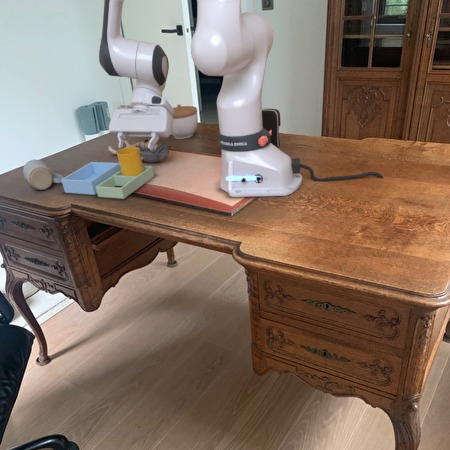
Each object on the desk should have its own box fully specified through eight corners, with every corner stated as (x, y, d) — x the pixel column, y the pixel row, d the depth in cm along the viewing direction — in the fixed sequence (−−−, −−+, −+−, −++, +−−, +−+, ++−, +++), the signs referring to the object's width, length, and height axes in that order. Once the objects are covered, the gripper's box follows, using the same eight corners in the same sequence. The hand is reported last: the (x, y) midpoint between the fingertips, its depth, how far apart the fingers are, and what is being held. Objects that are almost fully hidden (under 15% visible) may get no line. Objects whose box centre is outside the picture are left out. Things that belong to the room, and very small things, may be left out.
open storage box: (123, 175, 136) (119, 162, 134) (94, 194, 126) (90, 181, 123) (94, 174, 140) (91, 161, 138) (65, 192, 130) (60, 179, 127)
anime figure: (127, 134, 157) (175, 134, 136) (133, 155, 161) (181, 158, 140) (103, 142, 153) (150, 143, 131) (110, 163, 156) (156, 167, 135)
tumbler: (149, 177, 133) (143, 147, 128) (138, 185, 128) (131, 154, 123) (131, 176, 135) (124, 146, 130) (119, 184, 131) (111, 154, 125)
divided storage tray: (154, 175, 133) (152, 166, 132) (124, 198, 121) (121, 188, 119) (130, 174, 136) (128, 165, 135) (98, 196, 124) (95, 186, 122)
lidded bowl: (205, 131, 167) (202, 100, 161) (190, 141, 158) (185, 109, 152) (177, 130, 172) (172, 100, 165) (160, 140, 163) (155, 109, 156)
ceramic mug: (33, 194, 131) (24, 169, 127) (28, 186, 137) (19, 162, 132) (68, 184, 135) (61, 160, 131) (61, 177, 141) (54, 154, 137)
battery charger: (282, 144, 145) (281, 107, 138) (277, 148, 142) (276, 111, 135) (263, 143, 148) (262, 107, 141) (258, 146, 145) (256, 110, 139)
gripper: (110, 99, 132) (99, 143, 131) (169, 98, 124) (159, 144, 123) (122, 111, 138) (112, 153, 136) (179, 111, 130) (169, 155, 129)
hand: (135, 149), depth 130 cm, fingers open, 8 cm apart
